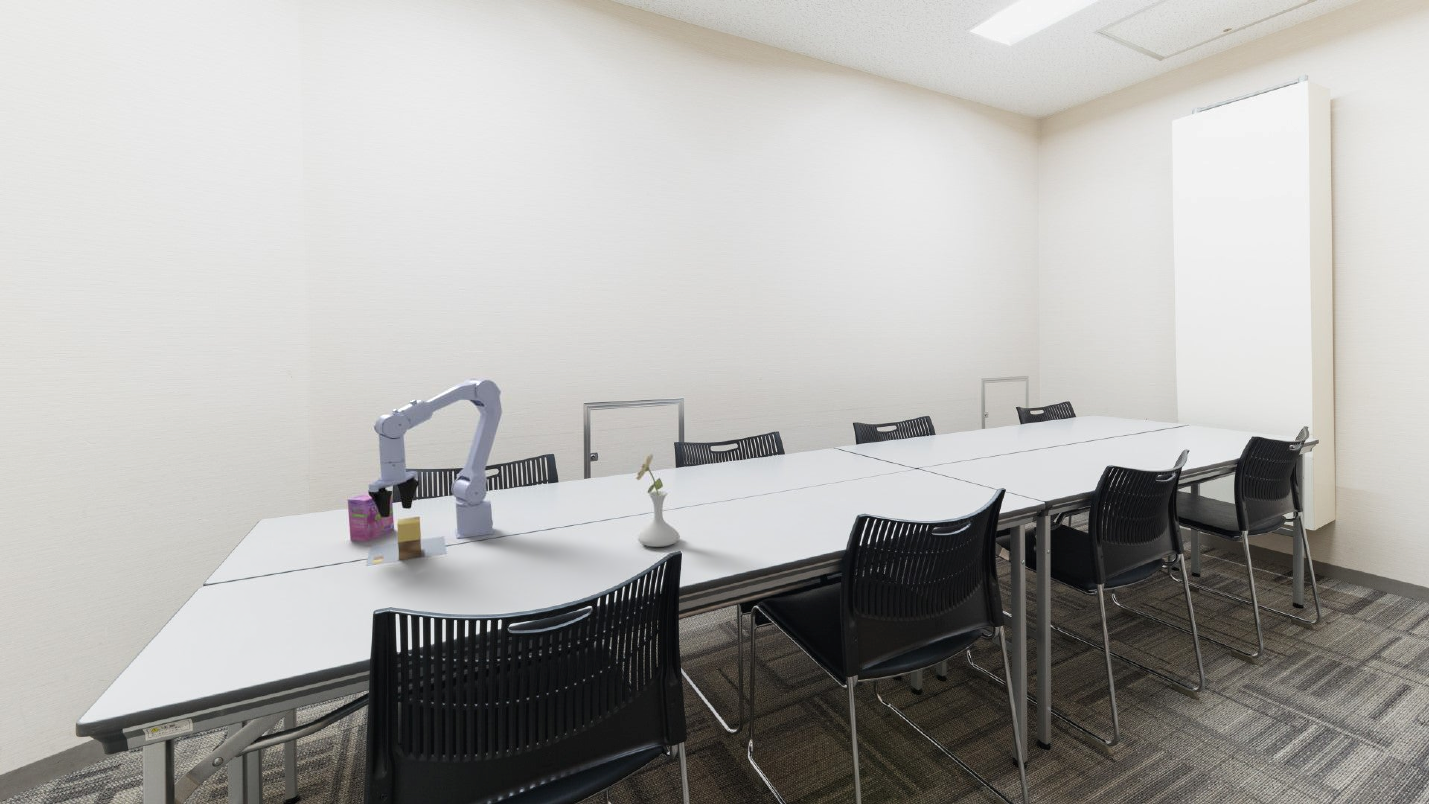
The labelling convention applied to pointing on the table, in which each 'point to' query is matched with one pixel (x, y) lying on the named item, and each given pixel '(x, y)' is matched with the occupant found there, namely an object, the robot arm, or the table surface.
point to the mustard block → (409, 529)
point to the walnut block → (409, 549)
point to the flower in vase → (656, 516)
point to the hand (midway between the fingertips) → (396, 512)
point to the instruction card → (392, 554)
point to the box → (367, 518)
